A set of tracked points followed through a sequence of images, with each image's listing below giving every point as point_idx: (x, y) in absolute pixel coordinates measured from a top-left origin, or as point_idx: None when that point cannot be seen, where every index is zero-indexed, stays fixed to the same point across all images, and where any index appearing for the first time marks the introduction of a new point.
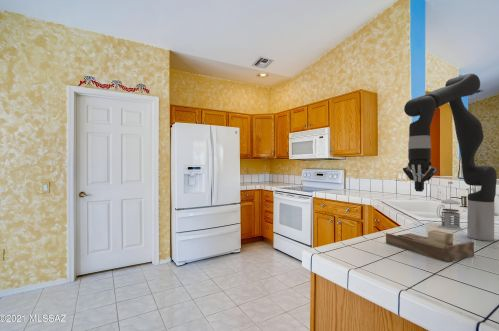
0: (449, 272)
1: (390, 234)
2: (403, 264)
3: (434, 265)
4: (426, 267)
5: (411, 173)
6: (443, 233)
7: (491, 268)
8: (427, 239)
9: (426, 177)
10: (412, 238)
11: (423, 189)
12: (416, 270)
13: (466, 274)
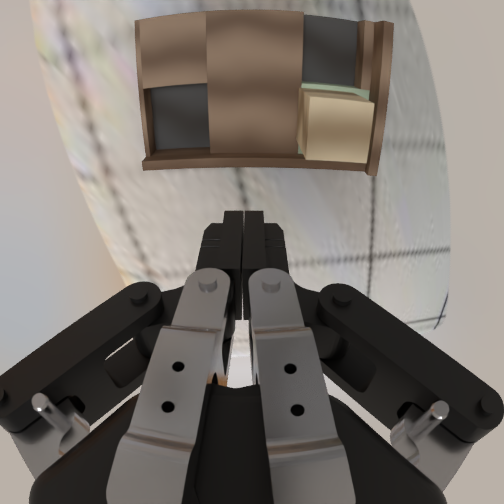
0: (387, 226)
1: (159, 166)
2: (310, 268)
3: (353, 214)
4: (347, 241)
5: (99, 373)
6: (356, 140)
7: (435, 112)
8: (230, 39)
9: (356, 368)
10: (196, 83)
11: (279, 230)
12: (343, 272)
13: (412, 206)
